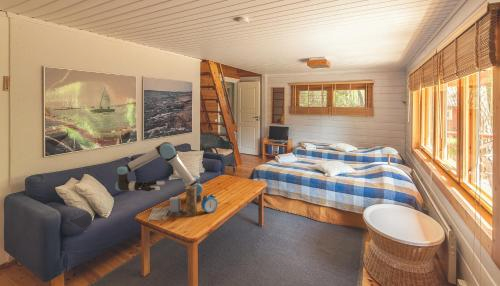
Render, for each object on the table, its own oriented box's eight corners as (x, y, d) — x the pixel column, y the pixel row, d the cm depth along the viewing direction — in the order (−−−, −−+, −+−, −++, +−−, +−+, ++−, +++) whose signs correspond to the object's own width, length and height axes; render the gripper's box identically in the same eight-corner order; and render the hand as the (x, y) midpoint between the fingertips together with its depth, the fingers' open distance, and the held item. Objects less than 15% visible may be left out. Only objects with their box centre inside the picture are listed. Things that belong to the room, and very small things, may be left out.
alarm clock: (203, 214, 218) (203, 197, 215) (200, 212, 223) (200, 195, 220) (217, 211, 225) (217, 194, 223) (214, 208, 230) (214, 192, 228)
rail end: (170, 215, 216) (169, 199, 213) (171, 213, 220) (170, 197, 218) (179, 215, 216) (179, 199, 214) (181, 213, 220) (180, 197, 218)
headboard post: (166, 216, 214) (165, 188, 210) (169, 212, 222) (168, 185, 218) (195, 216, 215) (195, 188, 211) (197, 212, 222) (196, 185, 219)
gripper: (142, 185, 226) (166, 184, 227) (129, 195, 202) (157, 195, 202) (141, 176, 225) (166, 176, 226) (128, 186, 200) (156, 186, 201)
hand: (162, 185), depth 214 cm, fingers open, 13 cm apart
